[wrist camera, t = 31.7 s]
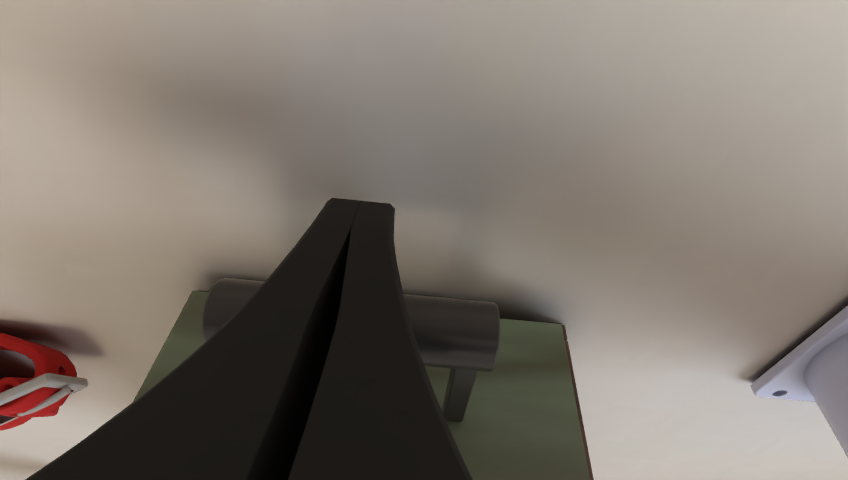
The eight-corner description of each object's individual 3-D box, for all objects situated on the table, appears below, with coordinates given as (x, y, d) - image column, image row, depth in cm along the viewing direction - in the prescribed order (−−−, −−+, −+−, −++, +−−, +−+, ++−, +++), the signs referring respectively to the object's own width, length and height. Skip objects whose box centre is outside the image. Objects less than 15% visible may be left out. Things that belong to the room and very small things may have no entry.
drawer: (138, 177, 13) (-14, 362, 9) (612, 221, 13) (682, 424, 9) (268, 450, 27) (234, 566, 23) (488, 470, 27) (493, 589, 23)
